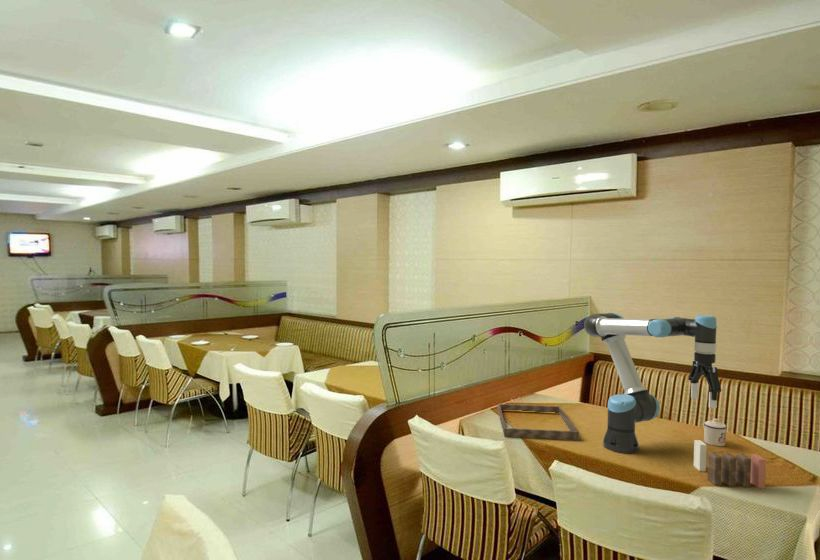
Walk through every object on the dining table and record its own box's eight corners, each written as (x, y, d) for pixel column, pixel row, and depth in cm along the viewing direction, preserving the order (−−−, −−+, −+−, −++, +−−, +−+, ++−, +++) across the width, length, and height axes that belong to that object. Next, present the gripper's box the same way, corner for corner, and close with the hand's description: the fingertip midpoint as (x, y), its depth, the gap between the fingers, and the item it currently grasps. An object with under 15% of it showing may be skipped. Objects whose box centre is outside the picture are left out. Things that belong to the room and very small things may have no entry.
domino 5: (758, 488, 179) (759, 459, 178) (750, 482, 184) (751, 454, 183) (764, 488, 178) (765, 459, 178) (756, 482, 183) (757, 454, 183)
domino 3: (728, 486, 180) (729, 457, 179) (721, 480, 185) (722, 452, 184) (735, 486, 179) (736, 458, 179) (728, 480, 184) (729, 453, 184)
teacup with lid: (722, 448, 218) (723, 423, 218) (700, 442, 225) (701, 418, 225) (730, 442, 226) (731, 418, 226) (709, 436, 233) (709, 413, 233)
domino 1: (699, 471, 193) (700, 444, 193) (693, 465, 198) (694, 440, 198) (705, 471, 193) (706, 444, 193) (699, 466, 198) (700, 440, 198)
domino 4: (743, 487, 179) (744, 458, 179) (735, 481, 184) (736, 453, 184) (750, 487, 179) (751, 458, 179) (742, 481, 184) (743, 453, 184)
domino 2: (714, 485, 180) (715, 457, 180) (707, 479, 185) (708, 451, 185) (721, 485, 180) (721, 457, 180) (714, 480, 185) (714, 452, 185)
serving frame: (504, 436, 230) (504, 428, 229) (497, 410, 271) (497, 403, 271) (578, 440, 226) (578, 432, 226) (560, 413, 268) (560, 406, 267)
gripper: (732, 358, 184) (730, 412, 185) (698, 347, 209) (696, 395, 210) (712, 358, 185) (710, 411, 185) (680, 347, 210) (679, 394, 210)
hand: (703, 402), depth 197 cm, fingers open, 13 cm apart
